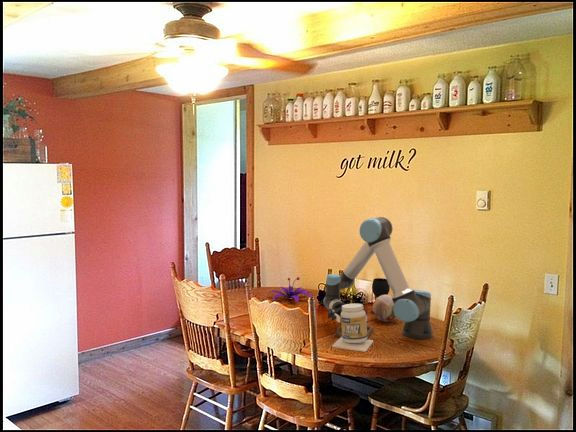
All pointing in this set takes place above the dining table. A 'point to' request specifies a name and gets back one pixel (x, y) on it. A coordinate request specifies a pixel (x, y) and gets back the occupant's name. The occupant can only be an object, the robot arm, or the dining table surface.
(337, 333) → the walnut collar
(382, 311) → the ornament
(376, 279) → the wine glass
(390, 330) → the dining table surface
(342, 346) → the off-white mat
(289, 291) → the decorative flower
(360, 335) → the supplement tub
